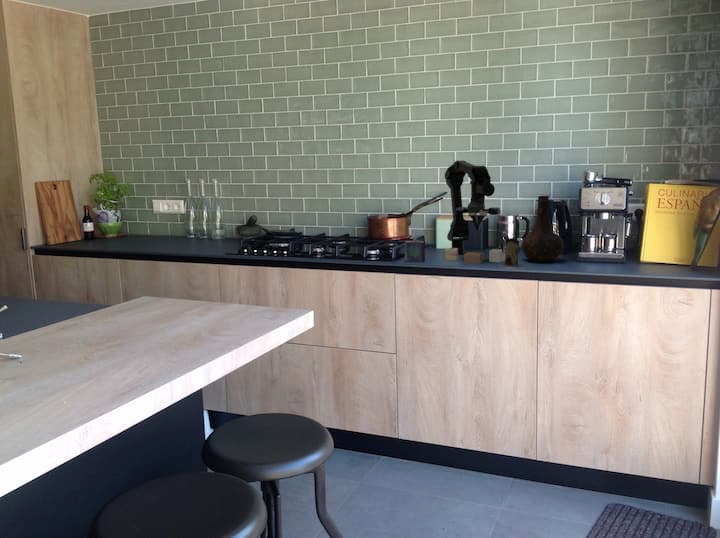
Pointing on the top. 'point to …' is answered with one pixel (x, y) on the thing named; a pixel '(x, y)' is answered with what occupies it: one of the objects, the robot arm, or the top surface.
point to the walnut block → (474, 257)
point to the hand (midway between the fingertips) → (477, 230)
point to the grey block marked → (496, 255)
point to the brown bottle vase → (542, 237)
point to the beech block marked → (451, 254)
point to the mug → (510, 251)
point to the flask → (414, 251)
